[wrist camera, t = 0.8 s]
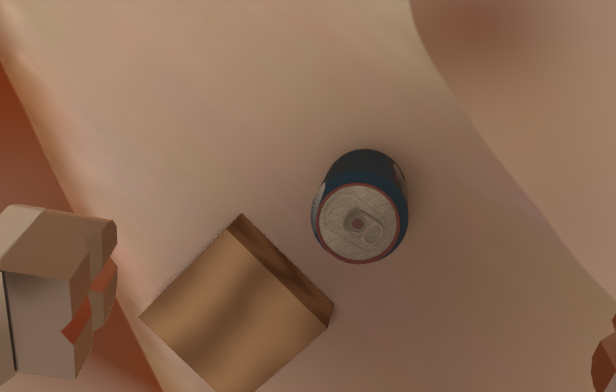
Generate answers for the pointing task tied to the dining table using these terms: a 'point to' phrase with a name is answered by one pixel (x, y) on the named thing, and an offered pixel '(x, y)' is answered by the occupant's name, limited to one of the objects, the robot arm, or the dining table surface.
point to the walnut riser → (239, 311)
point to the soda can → (361, 208)
